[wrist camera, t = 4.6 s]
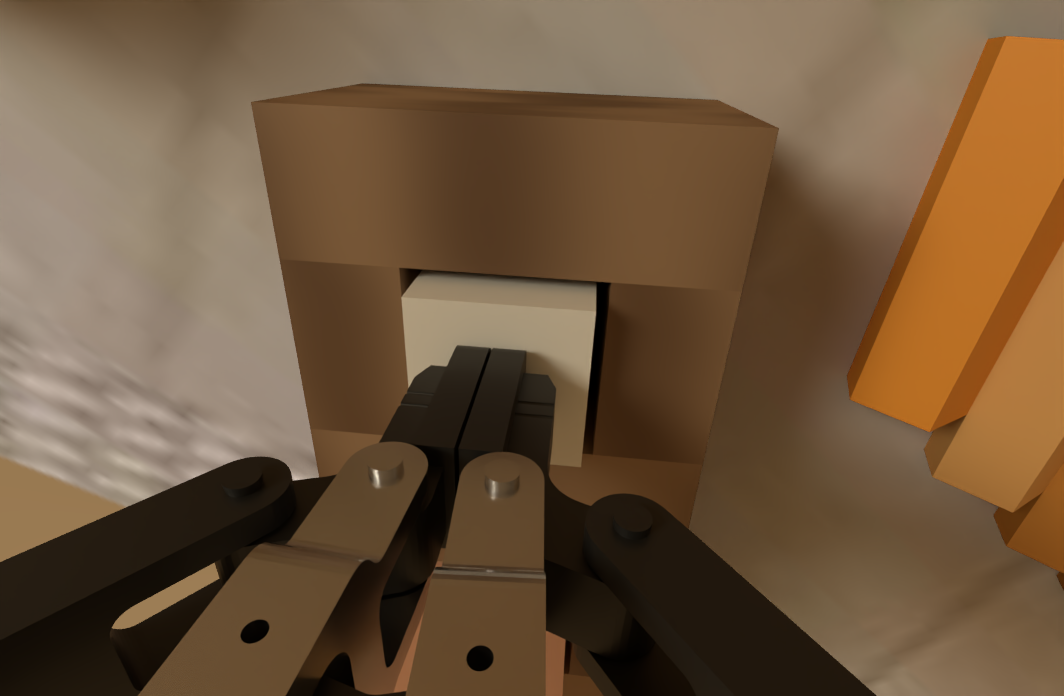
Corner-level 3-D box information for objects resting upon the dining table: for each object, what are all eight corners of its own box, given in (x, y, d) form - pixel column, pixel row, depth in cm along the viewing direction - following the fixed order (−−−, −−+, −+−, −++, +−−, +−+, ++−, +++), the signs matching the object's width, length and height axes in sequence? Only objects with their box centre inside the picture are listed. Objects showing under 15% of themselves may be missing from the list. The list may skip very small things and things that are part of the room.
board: (717, 100, 16) (779, 128, 10) (631, 593, 25) (640, 739, 20) (362, 83, 16) (251, 102, 11) (409, 569, 26) (360, 704, 21)
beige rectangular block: (596, 232, 16) (596, 311, 11) (585, 354, 18) (580, 467, 13) (458, 223, 17) (401, 297, 12) (461, 344, 18) (413, 451, 14)
